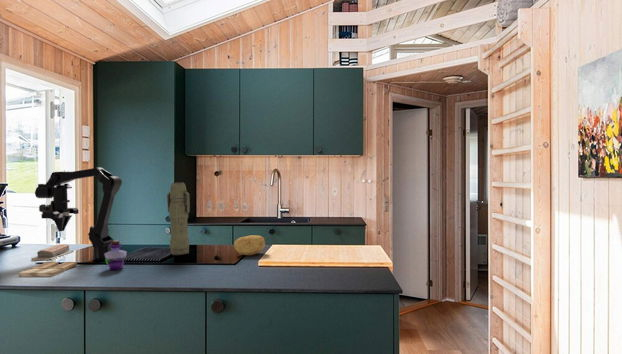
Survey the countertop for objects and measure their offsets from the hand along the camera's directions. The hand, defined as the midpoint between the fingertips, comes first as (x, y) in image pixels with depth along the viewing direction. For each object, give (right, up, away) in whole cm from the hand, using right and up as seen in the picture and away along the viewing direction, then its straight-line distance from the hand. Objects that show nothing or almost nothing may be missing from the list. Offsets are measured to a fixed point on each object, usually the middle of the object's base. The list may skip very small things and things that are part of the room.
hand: (61, 231), depth 194 cm
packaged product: (-8, -14, +7) cm, 17 cm away
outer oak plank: (+4, -13, -17) cm, 22 cm away
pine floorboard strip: (+8, -14, -26) cm, 31 cm away
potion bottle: (+35, -14, -19) cm, 42 cm away
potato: (+88, -12, +5) cm, 89 cm away
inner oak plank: (+12, -13, -18) cm, 26 cm away
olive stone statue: (+53, -12, +10) cm, 55 cm away
